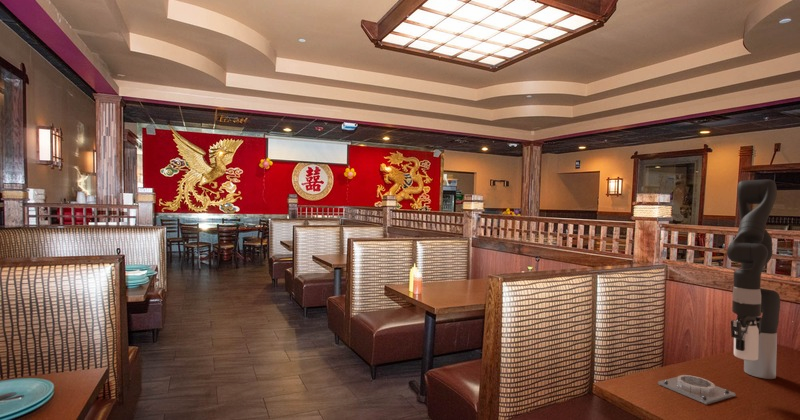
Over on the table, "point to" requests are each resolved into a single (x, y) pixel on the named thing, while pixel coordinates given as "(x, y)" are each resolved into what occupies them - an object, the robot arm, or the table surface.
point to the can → (749, 344)
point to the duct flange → (697, 388)
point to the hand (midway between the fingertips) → (745, 348)
